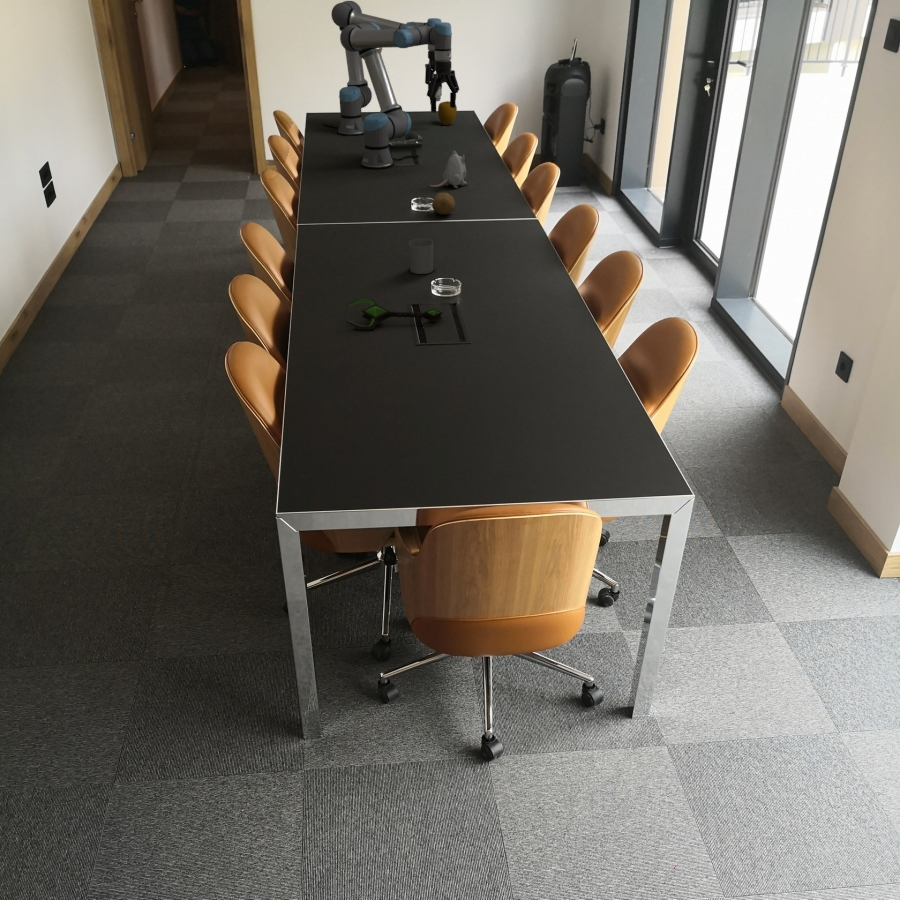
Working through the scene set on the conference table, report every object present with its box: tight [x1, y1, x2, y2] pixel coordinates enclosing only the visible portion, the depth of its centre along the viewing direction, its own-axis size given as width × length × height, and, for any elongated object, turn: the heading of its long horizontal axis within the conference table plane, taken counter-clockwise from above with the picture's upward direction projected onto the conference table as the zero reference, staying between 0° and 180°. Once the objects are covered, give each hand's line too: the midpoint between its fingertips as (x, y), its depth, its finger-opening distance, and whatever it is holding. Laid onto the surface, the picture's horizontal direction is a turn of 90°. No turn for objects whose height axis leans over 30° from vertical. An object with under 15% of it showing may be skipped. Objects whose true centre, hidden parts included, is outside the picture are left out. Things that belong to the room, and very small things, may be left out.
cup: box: [408, 237, 434, 275], centre depth 305 cm, size 8×8×10 cm
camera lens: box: [435, 87, 442, 102], centre depth 476 cm, size 6×6×8 cm
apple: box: [437, 100, 458, 126], centre depth 500 cm, size 11×11×13 cm
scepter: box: [345, 298, 443, 331], centre depth 269 cm, size 6×13×30 cm
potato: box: [431, 192, 456, 216], centre depth 360 cm, size 10×14×8 cm
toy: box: [428, 149, 468, 189], centre depth 390 cm, size 9×24×15 cm, turn 137°
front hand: (443, 109), depth 405 cm, fingers open, 13 cm apart
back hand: (435, 96), depth 477 cm, fingers closed on camera lens, 6 cm apart
